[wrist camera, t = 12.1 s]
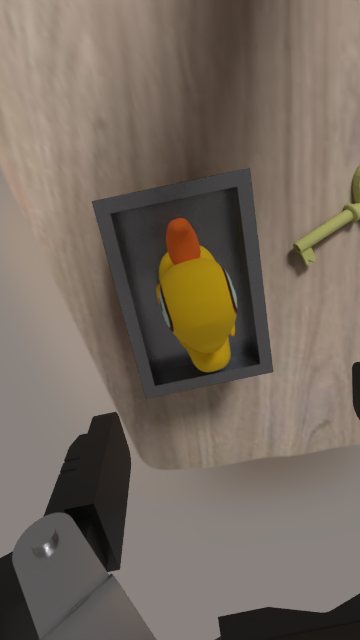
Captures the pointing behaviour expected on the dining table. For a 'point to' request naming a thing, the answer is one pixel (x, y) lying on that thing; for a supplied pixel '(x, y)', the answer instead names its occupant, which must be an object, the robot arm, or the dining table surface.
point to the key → (331, 224)
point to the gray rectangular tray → (143, 277)
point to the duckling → (196, 298)
